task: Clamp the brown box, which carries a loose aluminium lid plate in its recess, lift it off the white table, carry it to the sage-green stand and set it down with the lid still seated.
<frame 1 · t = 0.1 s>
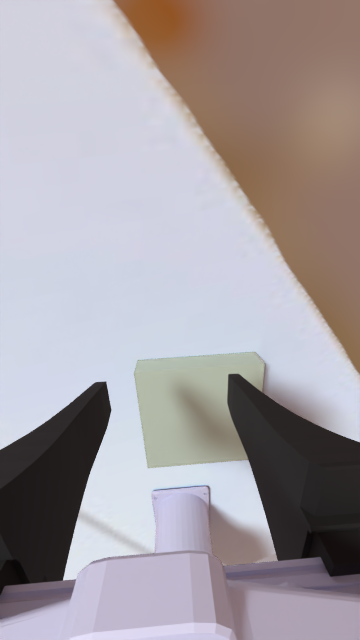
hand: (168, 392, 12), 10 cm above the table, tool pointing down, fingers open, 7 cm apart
stand: (198, 404, 25), on the table
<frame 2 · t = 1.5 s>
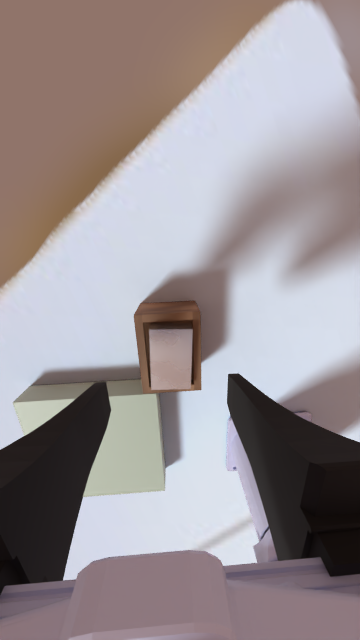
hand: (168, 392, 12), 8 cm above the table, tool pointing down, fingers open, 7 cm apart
stand: (104, 431, 23), on the table
lid plate: (170, 352, 17), point 3 cm above the table, touching brown box
brown box: (169, 336, 20), on the table, touching lid plate
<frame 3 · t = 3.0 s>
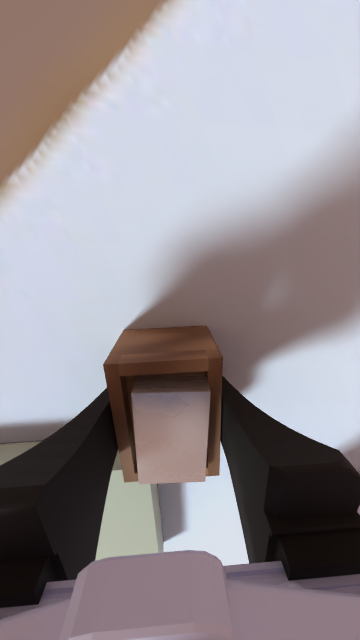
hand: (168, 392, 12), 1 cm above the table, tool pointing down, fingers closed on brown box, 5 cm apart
stand: (77, 501, 17), on the table
lid plate: (171, 416, 11), point 3 cm above the table, touching brown box
brown box: (168, 377, 14), on the table, touching gripper, lid plate
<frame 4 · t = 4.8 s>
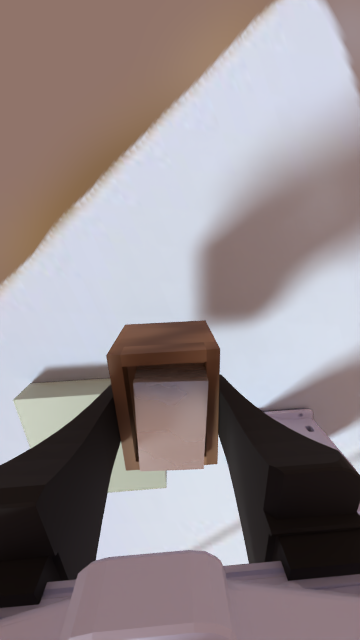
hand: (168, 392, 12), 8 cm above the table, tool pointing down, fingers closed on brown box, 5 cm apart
stand: (105, 428, 23), on the table
lid plate: (171, 406, 11), point 10 cm above the table, touching brown box
brown box: (168, 371, 14), point 6 cm above the table, touching gripper, lid plate
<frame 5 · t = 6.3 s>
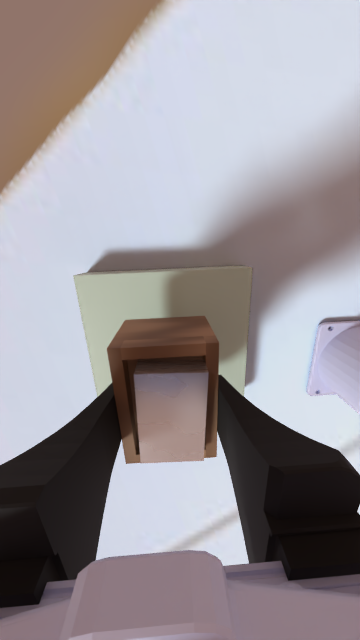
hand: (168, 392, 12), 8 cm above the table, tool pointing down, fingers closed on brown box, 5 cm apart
stand: (169, 339, 19), on the table
lid plate: (171, 399, 11), point 9 cm above the table, touching brown box
brown box: (168, 366, 14), point 5 cm above the table, touching gripper, lid plate
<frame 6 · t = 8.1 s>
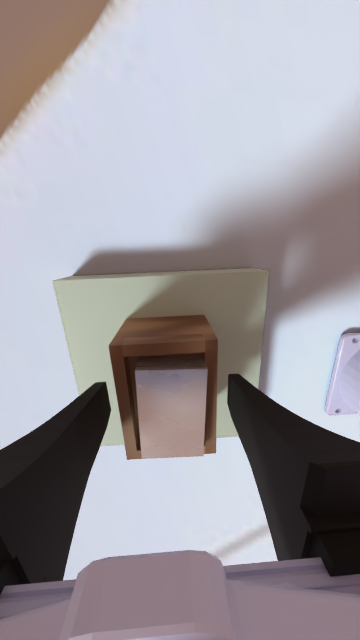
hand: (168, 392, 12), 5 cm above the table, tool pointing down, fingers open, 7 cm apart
stand: (169, 353, 17), on the table
lid plate: (171, 396, 11), point 6 cm above the table, touching brown box
brown box: (168, 364, 14), point 2 cm above the table, touching lid plate, stand
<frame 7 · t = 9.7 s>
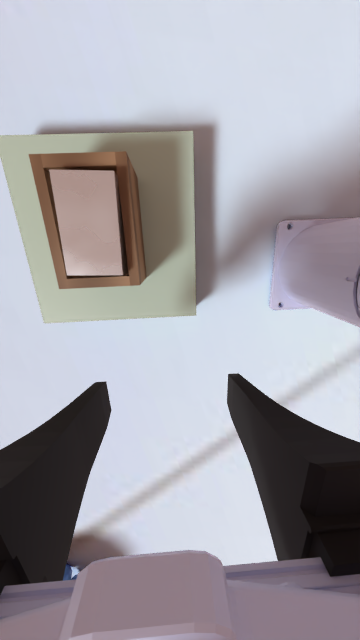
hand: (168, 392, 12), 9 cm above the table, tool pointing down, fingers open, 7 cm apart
stand: (117, 240, 18), on the table
lid plate: (98, 229, 13), point 6 cm above the table, touching brown box
brown box: (109, 232, 16), point 2 cm above the table, touching lid plate, stand
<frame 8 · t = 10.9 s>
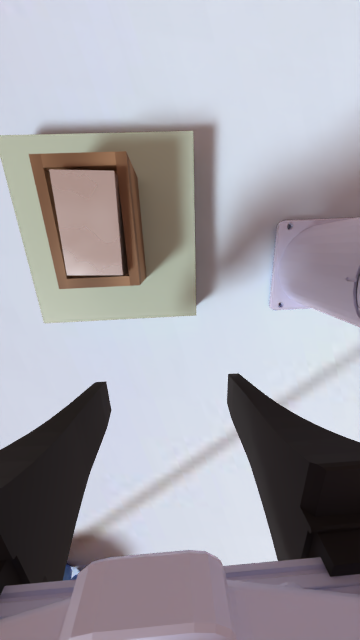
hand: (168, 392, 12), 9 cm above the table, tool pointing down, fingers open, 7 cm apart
stand: (117, 240, 18), on the table
lid plate: (98, 229, 13), point 6 cm above the table, touching brown box
brown box: (109, 232, 16), point 2 cm above the table, touching lid plate, stand
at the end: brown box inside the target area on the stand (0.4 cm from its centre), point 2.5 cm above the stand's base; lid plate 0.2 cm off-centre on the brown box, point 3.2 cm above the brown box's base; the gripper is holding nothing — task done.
